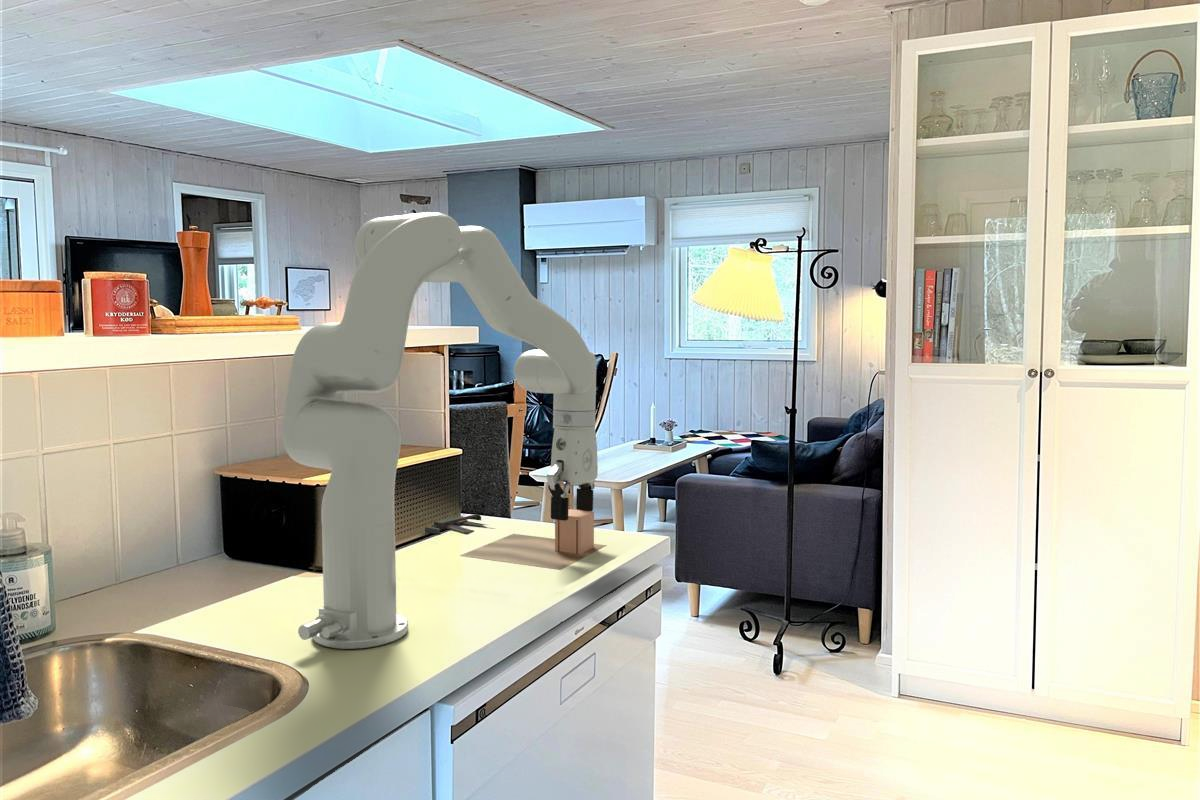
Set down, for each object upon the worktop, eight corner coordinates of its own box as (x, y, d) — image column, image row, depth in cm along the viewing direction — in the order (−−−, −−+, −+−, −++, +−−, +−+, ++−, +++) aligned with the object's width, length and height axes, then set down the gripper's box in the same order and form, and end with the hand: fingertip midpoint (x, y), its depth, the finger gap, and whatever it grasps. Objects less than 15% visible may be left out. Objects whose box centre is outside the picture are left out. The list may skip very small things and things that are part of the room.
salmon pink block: (580, 554, 157) (580, 517, 156) (555, 550, 159) (555, 514, 159) (593, 547, 162) (593, 511, 161) (568, 544, 164) (568, 508, 163)
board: (560, 578, 147) (560, 569, 147) (459, 563, 156) (459, 555, 156) (606, 553, 163) (606, 545, 163) (513, 541, 172) (513, 533, 172)
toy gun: (524, 520, 185) (463, 509, 191) (476, 532, 168) (410, 520, 174) (522, 534, 185) (462, 523, 191) (474, 548, 168) (409, 536, 174)
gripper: (570, 424, 149) (568, 525, 150) (613, 418, 164) (611, 509, 165) (531, 422, 152) (529, 521, 153) (577, 415, 168) (575, 505, 169)
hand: (572, 515), depth 159 cm, fingers open, 9 cm apart
